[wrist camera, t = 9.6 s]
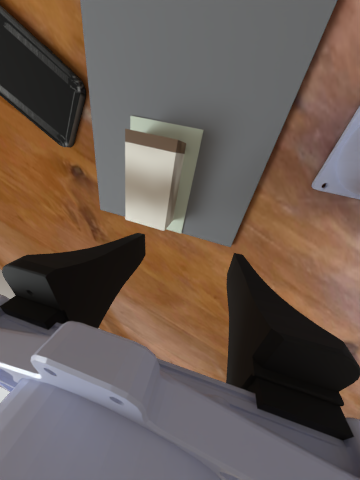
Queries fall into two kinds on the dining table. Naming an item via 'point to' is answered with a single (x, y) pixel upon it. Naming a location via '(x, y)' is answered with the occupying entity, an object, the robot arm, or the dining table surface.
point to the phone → (39, 82)
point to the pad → (189, 163)
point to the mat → (199, 90)
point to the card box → (152, 178)
